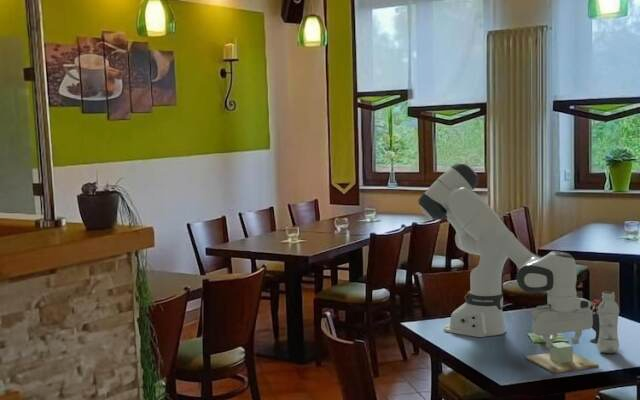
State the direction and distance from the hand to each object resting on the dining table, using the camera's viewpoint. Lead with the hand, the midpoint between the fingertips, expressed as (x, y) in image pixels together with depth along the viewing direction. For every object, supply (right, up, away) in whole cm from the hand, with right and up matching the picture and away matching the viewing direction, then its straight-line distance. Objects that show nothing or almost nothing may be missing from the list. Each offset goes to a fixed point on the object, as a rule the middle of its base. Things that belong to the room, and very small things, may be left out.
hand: (562, 345), depth 246 cm
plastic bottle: (+18, -4, +9) cm, 20 cm away
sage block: (0, -5, 0) cm, 5 cm away
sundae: (+19, -3, +22) cm, 29 cm away
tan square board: (0, -5, 0) cm, 5 cm away
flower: (+28, 0, +52) cm, 59 cm away
